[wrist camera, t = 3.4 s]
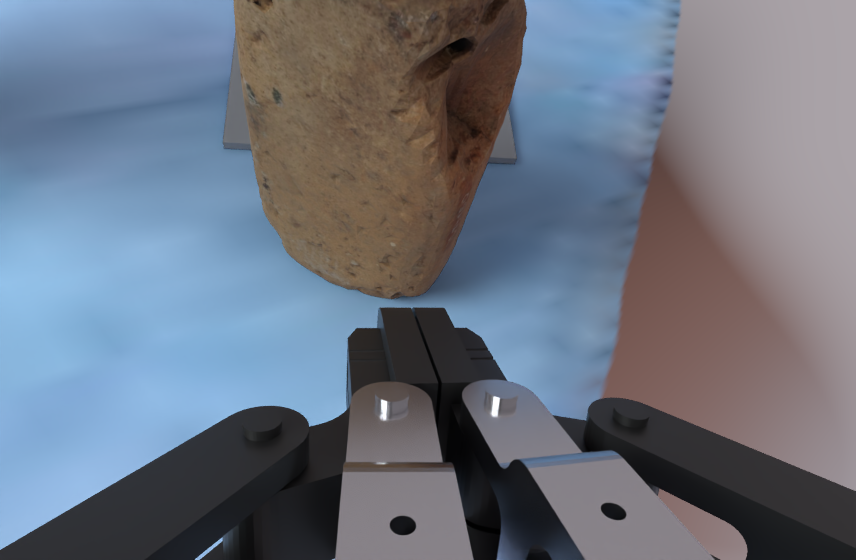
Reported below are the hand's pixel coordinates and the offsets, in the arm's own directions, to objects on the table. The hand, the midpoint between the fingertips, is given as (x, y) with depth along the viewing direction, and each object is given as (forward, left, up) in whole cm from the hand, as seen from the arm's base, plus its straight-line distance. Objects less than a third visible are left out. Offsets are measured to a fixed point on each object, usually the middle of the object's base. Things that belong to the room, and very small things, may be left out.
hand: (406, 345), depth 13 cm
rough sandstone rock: (0, +13, -19) cm, 23 cm away
